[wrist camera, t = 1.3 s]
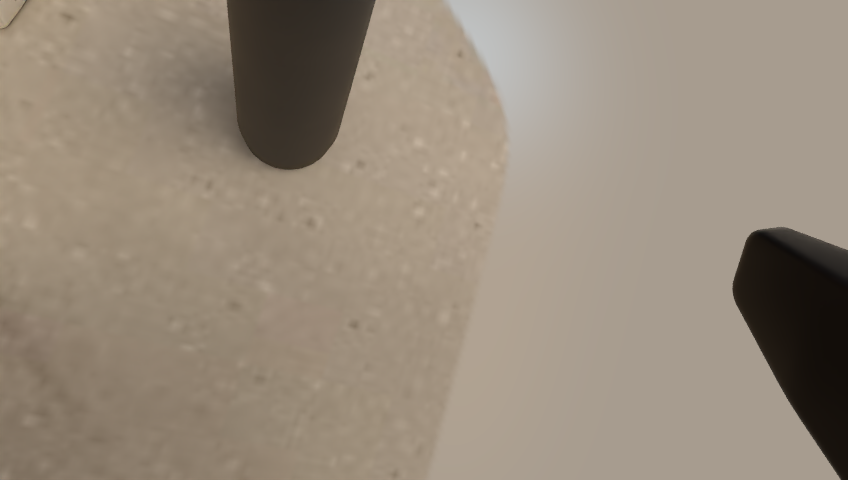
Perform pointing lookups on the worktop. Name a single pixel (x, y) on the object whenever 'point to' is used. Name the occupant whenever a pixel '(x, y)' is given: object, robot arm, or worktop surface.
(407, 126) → the worktop surface
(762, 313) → the robot arm
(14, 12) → the ink box
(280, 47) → the black and orange cylinder
